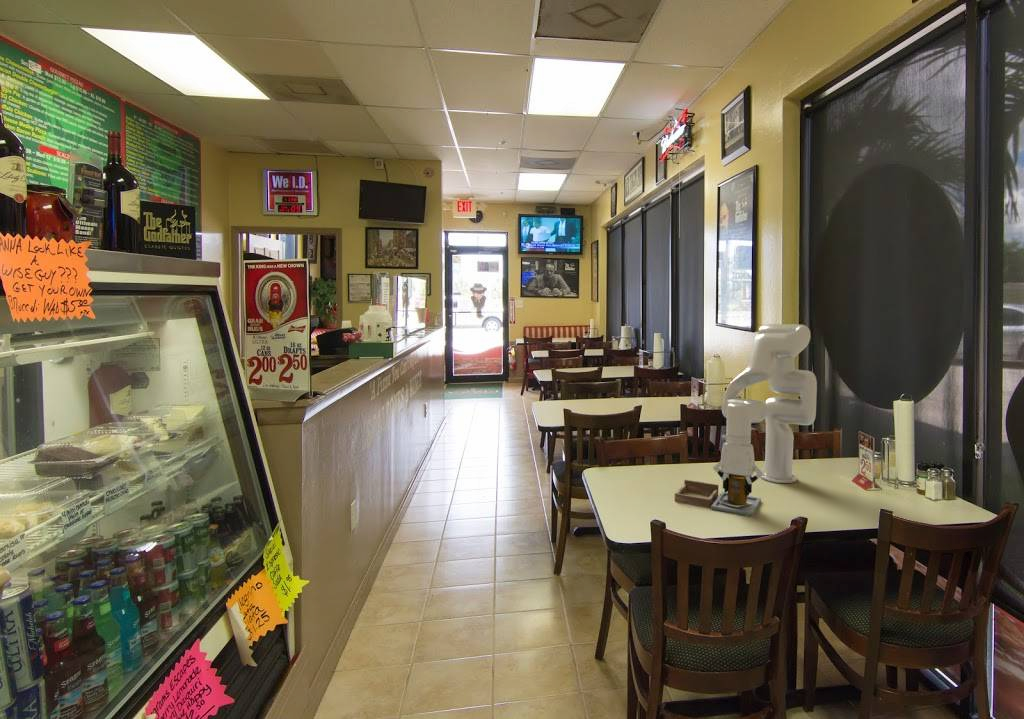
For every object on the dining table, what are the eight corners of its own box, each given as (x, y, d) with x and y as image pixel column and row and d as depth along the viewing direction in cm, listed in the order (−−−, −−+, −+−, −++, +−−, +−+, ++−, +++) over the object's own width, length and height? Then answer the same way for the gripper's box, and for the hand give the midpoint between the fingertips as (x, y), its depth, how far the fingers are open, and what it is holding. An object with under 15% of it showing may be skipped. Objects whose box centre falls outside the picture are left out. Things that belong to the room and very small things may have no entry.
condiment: (752, 503, 182) (753, 468, 181) (737, 508, 177) (738, 471, 176) (732, 498, 188) (733, 463, 187) (717, 502, 183) (718, 467, 182)
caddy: (684, 490, 198) (685, 479, 197) (718, 495, 192) (718, 484, 191) (674, 500, 187) (674, 489, 187) (709, 507, 181) (709, 495, 181)
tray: (722, 494, 192) (722, 491, 192) (760, 501, 186) (760, 498, 186) (711, 509, 179) (711, 505, 179) (752, 516, 172) (752, 513, 172)
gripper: (708, 439, 182) (707, 491, 184) (765, 445, 173) (763, 500, 174) (713, 434, 188) (712, 485, 190) (768, 440, 179) (766, 493, 181)
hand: (737, 492), depth 182 cm, fingers closed on condiment, 6 cm apart
